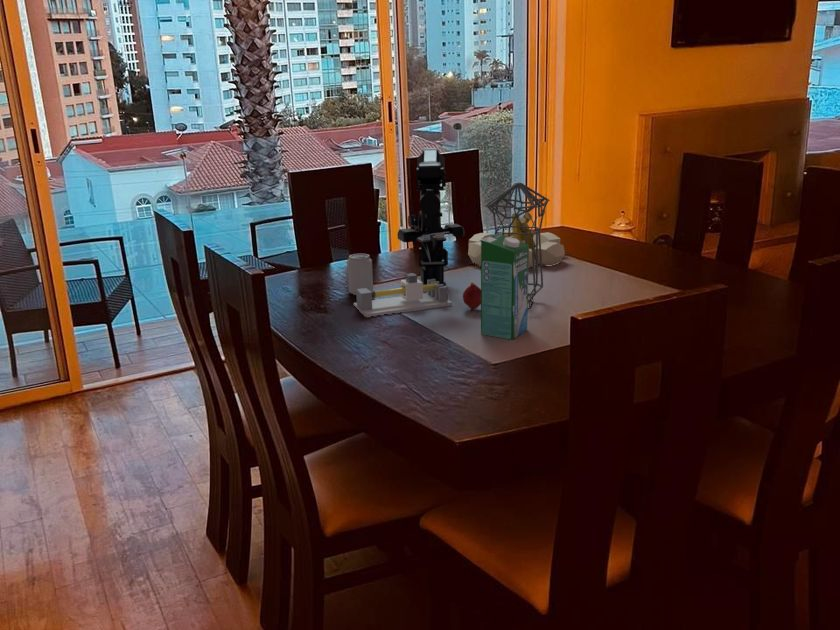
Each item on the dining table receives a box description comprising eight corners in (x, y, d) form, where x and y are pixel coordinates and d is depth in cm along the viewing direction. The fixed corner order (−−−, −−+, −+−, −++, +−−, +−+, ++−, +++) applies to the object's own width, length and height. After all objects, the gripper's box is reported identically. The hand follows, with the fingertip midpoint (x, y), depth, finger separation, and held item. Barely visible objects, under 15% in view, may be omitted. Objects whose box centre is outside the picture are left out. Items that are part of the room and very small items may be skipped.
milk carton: (512, 340, 191) (513, 242, 184) (480, 334, 196) (480, 239, 188) (527, 329, 199) (529, 235, 191) (496, 324, 203) (497, 232, 195)
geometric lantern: (484, 309, 216) (483, 185, 206) (498, 295, 230) (498, 179, 220) (539, 313, 211) (541, 186, 201) (550, 299, 225) (552, 179, 215)
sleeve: (416, 294, 225) (416, 271, 222) (423, 299, 220) (422, 275, 218) (400, 296, 223) (400, 273, 221) (406, 301, 218) (406, 277, 216)
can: (369, 297, 231) (367, 258, 227) (345, 296, 232) (343, 257, 228) (376, 290, 237) (374, 252, 234) (352, 289, 239) (350, 252, 235)
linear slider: (435, 294, 231) (435, 275, 229) (451, 305, 220) (451, 285, 218) (353, 306, 222) (352, 286, 220) (366, 317, 211) (365, 296, 210)
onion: (485, 307, 218) (485, 280, 215) (480, 313, 213) (480, 285, 210) (466, 305, 220) (465, 279, 217) (460, 311, 215) (460, 284, 212)
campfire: (570, 271, 255) (572, 220, 250) (469, 273, 256) (469, 223, 251) (554, 247, 289) (556, 202, 283) (465, 249, 289) (464, 204, 284)
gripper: (449, 201, 226) (450, 252, 231) (390, 207, 220) (392, 259, 225) (465, 207, 216) (465, 260, 221) (403, 213, 210) (405, 268, 215)
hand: (431, 262), depth 221 cm, fingers closed
